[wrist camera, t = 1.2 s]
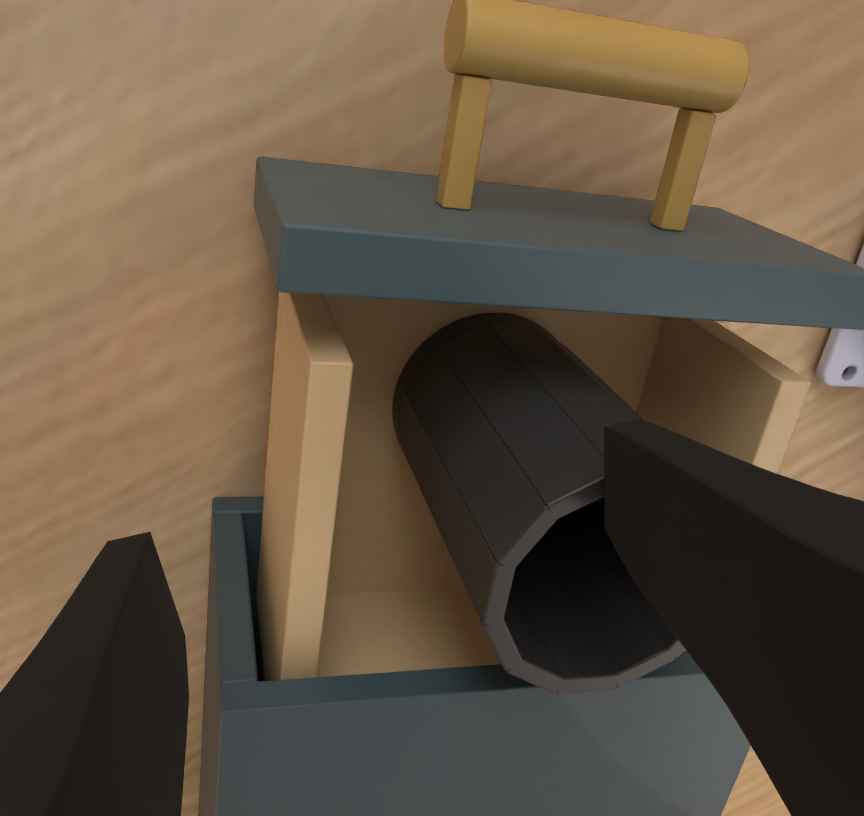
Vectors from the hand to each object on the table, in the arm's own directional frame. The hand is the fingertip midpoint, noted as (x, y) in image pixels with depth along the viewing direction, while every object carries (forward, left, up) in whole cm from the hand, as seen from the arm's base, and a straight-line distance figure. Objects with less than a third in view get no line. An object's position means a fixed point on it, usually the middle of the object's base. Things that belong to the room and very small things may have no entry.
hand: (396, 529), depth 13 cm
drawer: (-4, 0, -9) cm, 10 cm away
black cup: (-4, +2, -8) cm, 10 cm away
